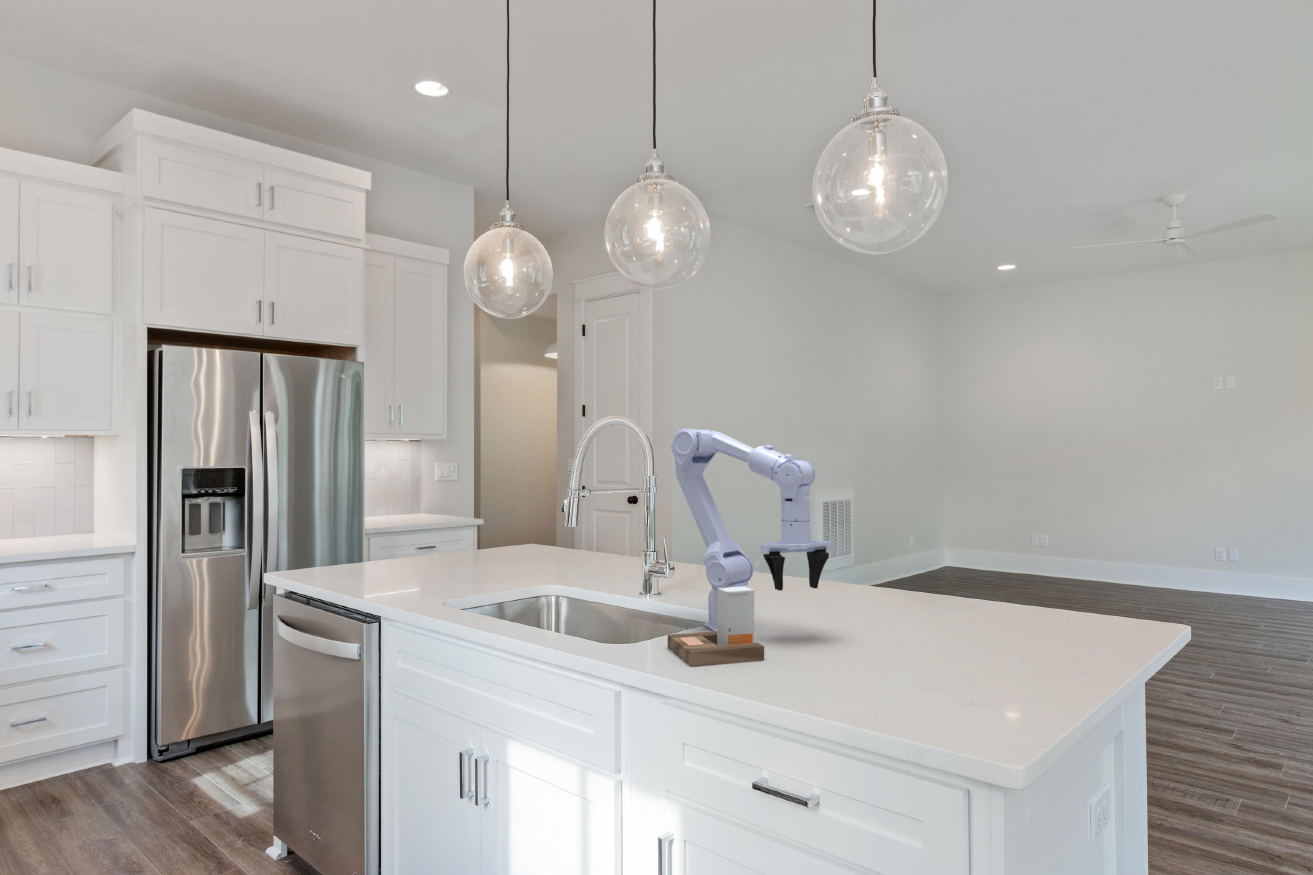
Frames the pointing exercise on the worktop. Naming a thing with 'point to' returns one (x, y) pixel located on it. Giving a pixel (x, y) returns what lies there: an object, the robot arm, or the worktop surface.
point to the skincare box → (735, 615)
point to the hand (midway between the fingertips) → (796, 588)
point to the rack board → (712, 649)
